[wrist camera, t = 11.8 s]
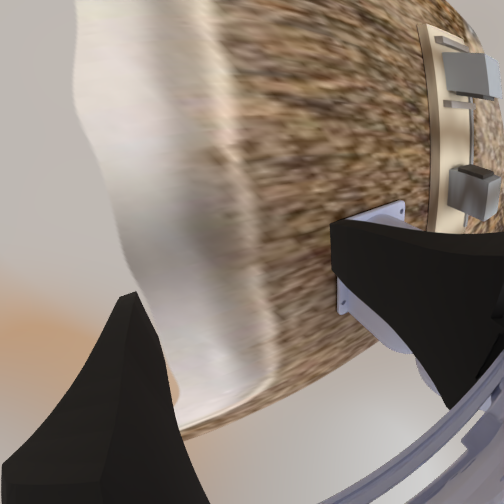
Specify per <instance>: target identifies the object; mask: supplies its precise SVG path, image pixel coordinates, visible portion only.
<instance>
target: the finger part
mask: <svg viewBox="0 0 504 504" xmlns="http://www.w3.org/2000/svg"><path fill="white" fill-rule="evenodd" d="M442 56H443V62H444V69H445V77H446V86H447V90H449V91H456V95H459V96H466V97H472V98H479V99H485V100H491V101H494V97H495V98H500V99H502V89H501V79H500V71H499V64H498V61H497V60H495V59H493V58H492V57H490V56H488V55H486V54H483V53H463V52H442Z"/></svg>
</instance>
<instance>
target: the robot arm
mask: <svg viewBox="0 0 504 504" xmlns="http://www.w3.org/2000/svg"><path fill="white" fill-rule="evenodd" d="M404 215H405V203H404V201H402V200H398V201H395V202H392V203H390V204H387V205H384V206H381V207H378V208H375V209H372V210H369V211H367V212H364V213H361V214H358V215H355V216H352V217H349V218H346V219H342V220H339V221H336V222H333V223H330V238H331V264H332V271H333V272H334V273H335V274H336V276H337V312H338V313H339V314H340V315H343V314H345V313H347V312H349V313H350V314H351V315H352V316H353V317H354V318H356V319H357V320H358V321H359V322H360V323H361V324H362V325H363V326H364V327H365V328H366V329H367V330H369V331H370V332H371V333H372V334H373V335H374V336H375V337H376V338H377V339H378V340H379V341H380V342H381V343H383V344H384V345H385V346H386V347H388V348H389V349H391V350H394V351H396V352H399V353H404V354H414V355H415V357H416V365H417V368H418V370H419V373H420V376H421V377H422V379H423V380H424V382H425V383H426V384H427V385H428V386H429V387H430V388H431V389H432V390H433V391H434V392H435V393H437V394H438V395H439V396H441V397H442V399H443V401H444V403H445V405H446V407H447V408H448V409H449V410H450V411H449V412H448V413H447V414H446V415H445V416H444V417H442V418H441V419H440V420H439V421H438V422H437V423H436V424H435V425H434V426H433V427H431V428H430V429H429V430H428V431H427V432H426V433H425V434H423V435H422V436H421V437H420V438H419V439H417V440H416V441H415V442H414V443H412V444H411V445H410V446H409V447H408V448H406V449H405V450H403V451H402V452H401V453H400V454H398V455H397V456H396V457H394V458H393V459H391V460H390V461H389V462H387V463H386V464H384V465H383V466H381V467H380V468H378V469H377V470H376V471H374V472H372V473H371V474H369V475H368V476H366V477H365V478H363V479H362V480H360V481H358V482H356V483H355V484H353V485H351V486H350V487H348V488H346V489H345V490H343V491H341V492H339V493H337V494H336V495H334V496H332V497H330V498H328V499H326V500H324V501H322V502H320V503H318V504H369V503H370V502H372V501H373V500H375V499H377V498H378V497H380V496H381V495H383V494H384V493H386V492H387V491H389V490H390V489H391V488H393V487H394V486H395V485H397V484H398V483H400V482H401V481H402V480H404V479H405V478H406V477H408V476H409V475H410V474H411V473H413V472H414V471H415V470H416V469H418V468H419V467H420V466H421V465H422V464H424V463H425V462H426V461H427V460H429V459H430V458H431V457H432V456H433V455H434V454H435V453H436V452H438V451H439V450H440V449H441V448H442V447H443V446H444V445H445V444H446V443H447V442H448V441H449V440H450V439H451V438H452V437H453V436H454V435H455V434H456V433H457V432H458V431H459V430H460V429H461V428H462V427H463V426H464V425H465V424H466V423H467V422H468V421H469V420H470V419H471V418H472V417H473V415H474V414H475V413H476V412H477V411H478V410H483V411H485V413H484V415H483V416H482V417H481V418H480V419H479V421H478V422H477V423H476V424H475V425H474V426H473V427H472V428H471V429H470V430H469V432H468V433H467V434H466V435H465V436H464V437H463V438H462V439H461V442H462V443H463V445H465V446H466V448H467V450H466V451H465V452H464V453H463V454H462V455H461V456H460V457H459V458H458V459H457V460H456V461H455V462H454V463H453V464H452V465H451V466H450V467H449V468H448V469H447V470H445V471H444V472H443V473H442V474H441V475H440V476H439V477H438V478H436V479H435V480H434V481H433V482H432V483H430V484H429V485H428V486H427V487H426V488H424V489H423V490H422V491H421V492H419V493H418V494H417V495H415V496H414V497H413V498H412V499H410V500H409V501H407V502H406V503H405V504H504V232H497V233H485V234H450V233H438V232H427V231H422V230H420V229H418V228H416V227H414V226H412V225H410V224H408V223H406V222H404ZM342 301H343V302H342ZM1 479H2V480H1V496H2V497H1V498H2V504H210V502H209V500H208V498H207V497H206V494H205V492H204V490H203V488H202V486H201V484H200V482H199V480H198V477H197V475H196V473H195V471H194V468H193V466H192V463H191V461H190V458H189V456H188V453H187V451H186V448H185V446H184V443H183V440H182V437H181V434H180V431H179V428H178V425H177V421H176V417H175V413H174V408H173V404H172V398H171V393H170V387H169V381H168V376H167V369H166V364H165V359H164V355H163V352H162V348H161V345H160V341H159V337H158V335H157V333H156V331H155V329H154V327H153V325H152V323H151V321H150V319H149V317H148V315H147V313H146V311H145V309H144V307H143V305H142V303H141V301H140V299H139V296H138V294H137V292H133V293H130V294H127V295H124V296H121V297H119V299H118V301H117V303H116V305H115V307H114V309H113V311H112V313H111V315H110V317H109V319H108V321H107V323H106V325H105V327H104V329H103V331H102V333H101V335H100V337H99V339H98V341H97V343H96V344H95V346H94V348H93V350H92V352H91V354H90V356H89V357H88V359H87V361H86V363H85V365H84V366H83V368H82V370H81V371H80V373H79V374H78V376H77V378H76V379H75V381H74V382H73V384H72V385H71V387H70V388H69V390H68V391H67V392H66V394H65V395H64V396H63V398H62V399H61V401H60V402H59V403H58V404H57V406H56V407H55V409H54V410H53V411H52V413H51V414H50V415H49V416H48V417H47V419H46V420H45V421H44V422H43V423H42V425H41V426H40V427H39V428H38V429H37V430H36V431H35V432H34V434H33V435H32V436H31V437H30V438H29V439H28V440H27V441H26V442H25V443H24V444H23V445H22V446H21V447H20V448H19V449H18V450H17V451H16V452H15V453H14V454H13V455H12V456H11V457H9V458H8V459H7V460H6V461H5V462H4V463H3V464H2V477H1Z"/></svg>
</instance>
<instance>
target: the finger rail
mask: <svg viewBox="0 0 504 504" xmlns="http://www.w3.org/2000/svg"><path fill="white" fill-rule="evenodd" d="M417 28H418V33H419V38H420V43H421V48H422V54H423V60H424V66H425V74H426V81H427V90H428V101H429V114H430V135H431V178H430V198H429V212H428V223H427V232H438V233H450V234H462V233H464V232H465V228H466V226H467V222H468V215H470V216H473V217H475V218H477V219H479V220H481V221H483V222H484V221H485V220H487V219H488V218H490V217H491V216H493V215H494V214H495V213H497V209H498V202H499V194H500V186H501V177H499V176H497V175H494V172H493V171H490V170H487V169H484V168H481V167H478V166H475V165H473V156H474V120H473V110H476V106H475V103H473V101H472V97H466V96H459V95H456V91H449V90H447V86H446V77H445V69H444V62H443V56H442V52H463V53H469V47H467V46H465V45H464V41H463V39H461V38H459V37H457V36H455V35H453V34H450V33H448V32H446V31H443V30H441V29H439V28H436V27H434V26H431V25H429V24H418V25H417Z"/></svg>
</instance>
